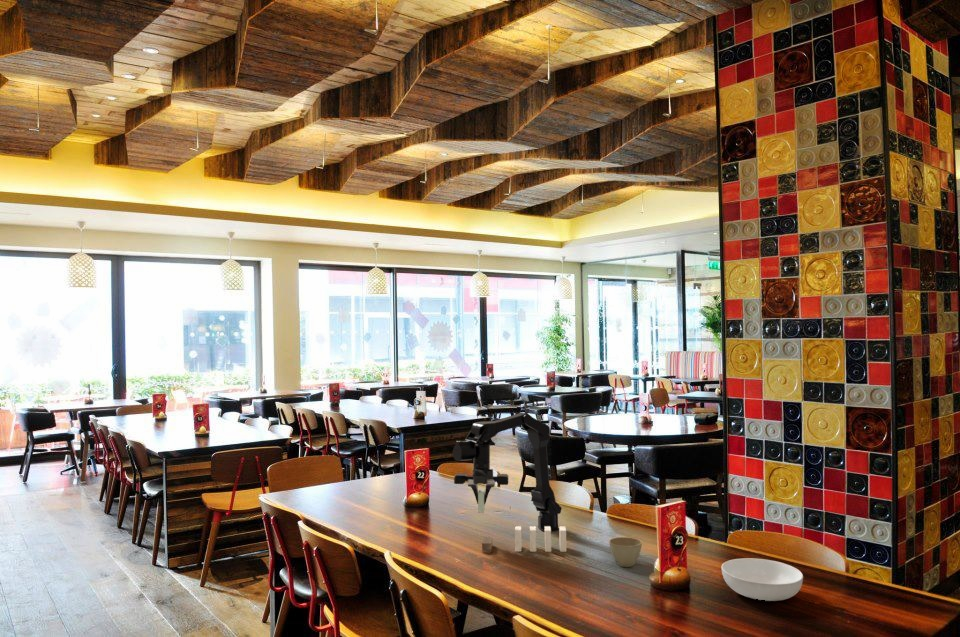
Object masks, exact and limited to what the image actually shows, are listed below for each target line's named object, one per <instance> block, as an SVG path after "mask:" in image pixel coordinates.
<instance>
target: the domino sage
mask: <svg viewBox="0 0 960 637" xmlns="http://www.w3.org/2000/svg"><path fill="white" fill-rule="evenodd" d="M485 490H486V489H478V504H477V507H478V508H477V514H484V513H485V508H486V507H485V506H486V503H485V504H484V497H485Z"/></svg>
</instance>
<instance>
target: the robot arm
mask: <svg viewBox="0 0 960 637" xmlns="http://www.w3.org/2000/svg"><path fill="white" fill-rule="evenodd" d="M520 426H521V428H522V429H523V430H524V431H526V433H527V437H528V440H529V442H530V444H531V446H532V450H533V451H532V452H533V461H534V462H533V464H534V474H535V475H534V476H535V486H534V489H532V490H530V494H531V502H532V504H533V506H534V507H535V509H536V511H537V512H539V513H538V514H539V515H538V517H537V522H538V523H537V524H538V525H537V527H538V529H540V530H541V531H543V532H545V526H550V527H551V532H553V531H559V515H560V514H561V512H562V509H563V508H562V506H561V505H560V504H559V503H558V502H557V501H556V496H555V492H554V491H553V489H552V487H551V484H550V475H549V464H548V463H549V462H548V450H547V445H548V444H549V442H550V439H551V438H550V435H551V428H550V426H549V425H548V424H547V423H544V422H542V421H540V420H538V419H536V418H534V417H533V416H532V415H530V414H529V413H526V412H519V413H515V414H513V415H509V416H507V417H503V418H499V419H497V420H492V421H491V420H490V421H489V420H487V421H476V422H474V423H472V426H471V429H470V430H469V433H468V434H467V435H466V437H465V439H464V440H456V441H455V444H454V446H453V449H452V457H453V459H454V461H455V462H463V461H465V462H466V461H472V460H473V469H472V475H468V474H467V473H463V472H459V473H458V472H457V473H456V474H454V478H453V484H455V485H464V484H465V483H466V482H467V487H470V488H471V490H472V491H473V495H474V497H475V501H476V503H477V505H478V492H479V487H478V486H479V484H480V485H481V484H482V485H485V489H484V490H485V497H484V504H485V505H486V503H487V499H488V496H489V493H490V491H491V489H492V488H495V487H496V486H495V485H496V483H497V484H498V486H508V485H509V475H508V474H507V473H497V474H496V476H494V469H493V468H491V467H490V466H491V463H490V462H491V447H490V446H496V443H495V442H494V441H493V440H492V438H494V437H496V436H497V435H498V434H499V433H500V432H505V431H508V430H511V429H514V428H517V427H520Z"/></svg>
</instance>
